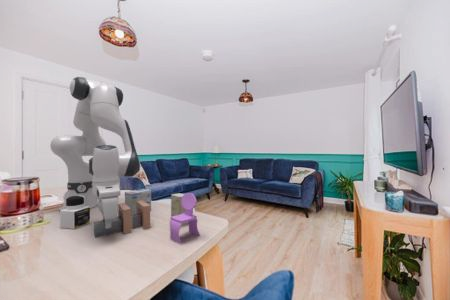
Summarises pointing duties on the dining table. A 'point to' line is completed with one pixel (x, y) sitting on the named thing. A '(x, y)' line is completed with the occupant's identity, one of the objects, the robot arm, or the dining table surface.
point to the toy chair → (184, 218)
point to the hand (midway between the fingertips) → (107, 225)
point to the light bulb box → (137, 198)
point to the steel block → (116, 225)
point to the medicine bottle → (74, 213)
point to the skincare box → (177, 205)
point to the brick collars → (140, 208)
